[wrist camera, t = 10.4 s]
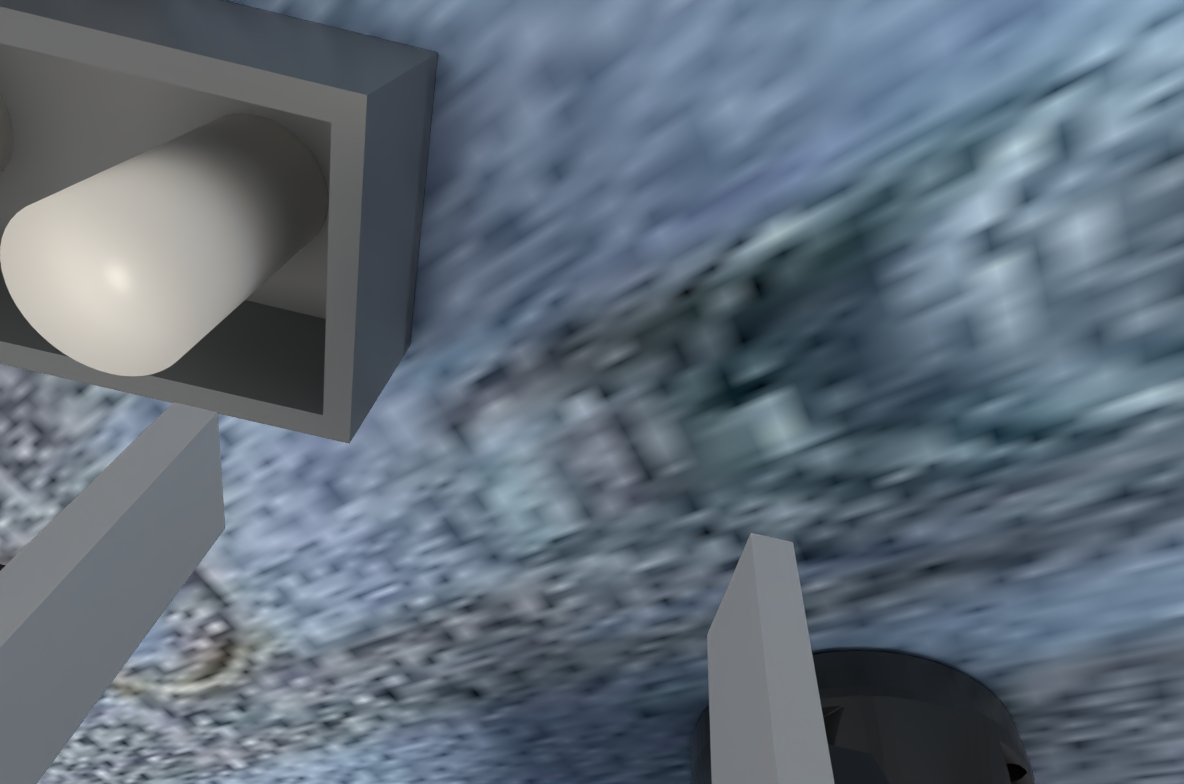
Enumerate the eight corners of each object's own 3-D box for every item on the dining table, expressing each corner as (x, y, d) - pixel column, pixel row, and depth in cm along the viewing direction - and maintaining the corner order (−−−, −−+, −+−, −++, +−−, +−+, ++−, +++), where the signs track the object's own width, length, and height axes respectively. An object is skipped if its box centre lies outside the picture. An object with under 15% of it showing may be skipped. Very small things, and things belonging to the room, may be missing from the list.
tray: (437, 52, 23) (317, 124, 15) (409, 345, 28) (311, 505, 21) (-254, -117, 22) (-728, -127, 15) (-148, 216, 27) (-457, 331, 20)
